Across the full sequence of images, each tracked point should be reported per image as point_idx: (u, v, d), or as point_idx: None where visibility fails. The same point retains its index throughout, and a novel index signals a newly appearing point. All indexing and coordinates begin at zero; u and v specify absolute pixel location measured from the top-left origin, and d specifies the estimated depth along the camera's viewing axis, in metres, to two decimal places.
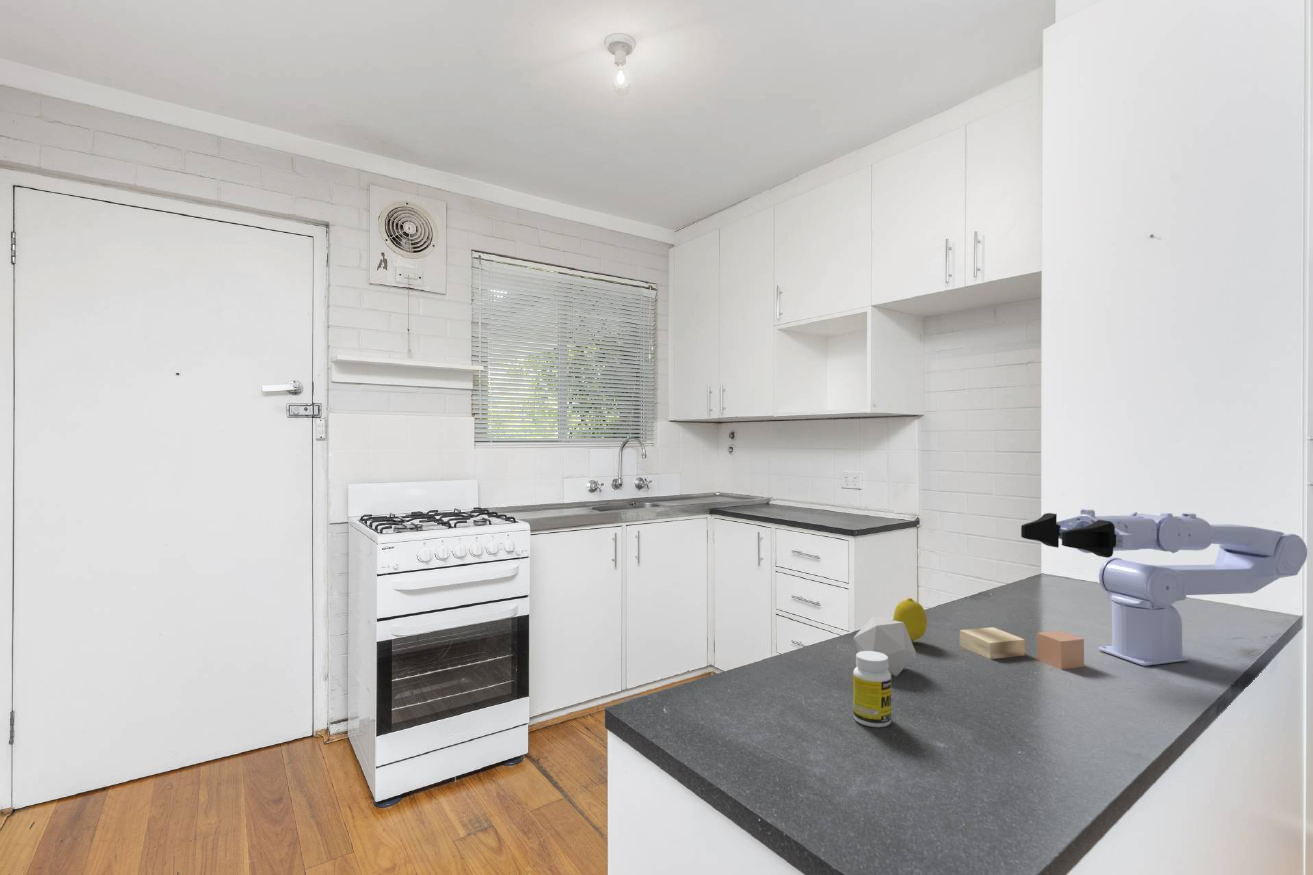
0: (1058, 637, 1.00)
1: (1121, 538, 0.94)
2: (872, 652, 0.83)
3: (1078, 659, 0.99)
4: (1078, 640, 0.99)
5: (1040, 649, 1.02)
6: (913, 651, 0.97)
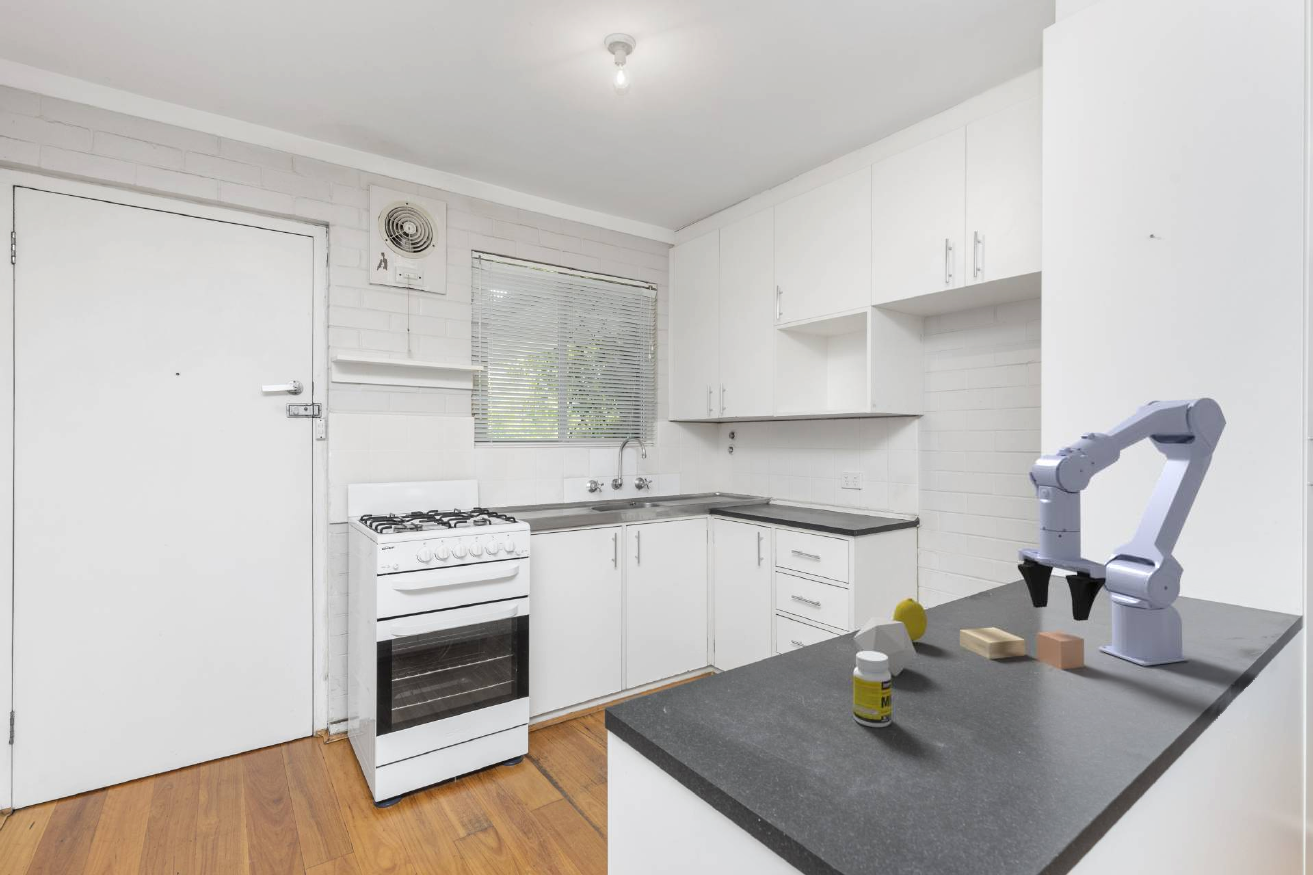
0: (1058, 637, 1.00)
1: (1097, 577, 0.94)
2: (872, 652, 0.83)
3: (1078, 659, 0.99)
4: (1078, 640, 0.99)
5: (1040, 649, 1.02)
6: (913, 651, 0.97)
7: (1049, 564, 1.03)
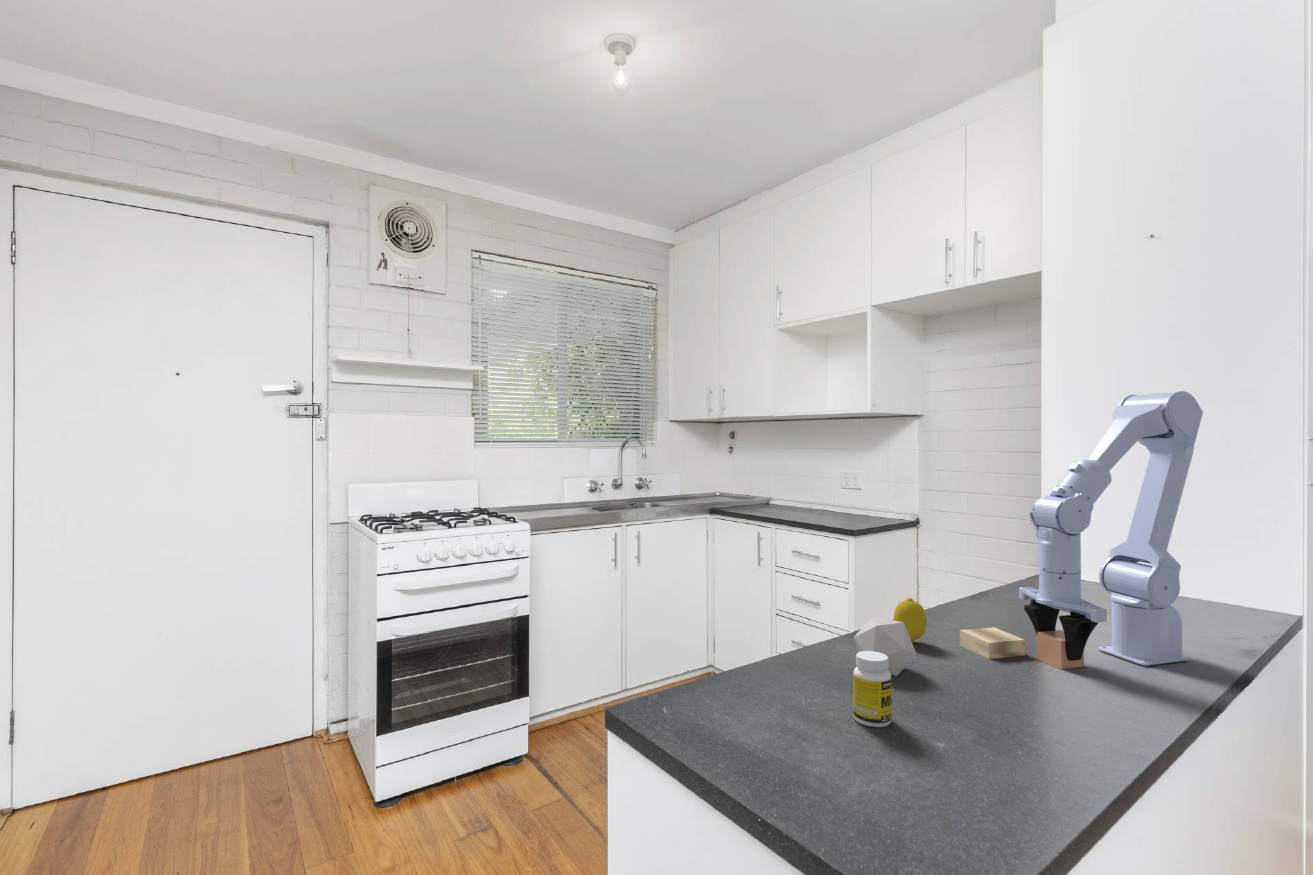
0: (1058, 636, 1.00)
1: (1098, 621, 0.94)
2: (872, 652, 0.83)
3: None
4: None
5: (1040, 648, 1.02)
6: (913, 651, 0.97)
7: (1049, 604, 1.03)
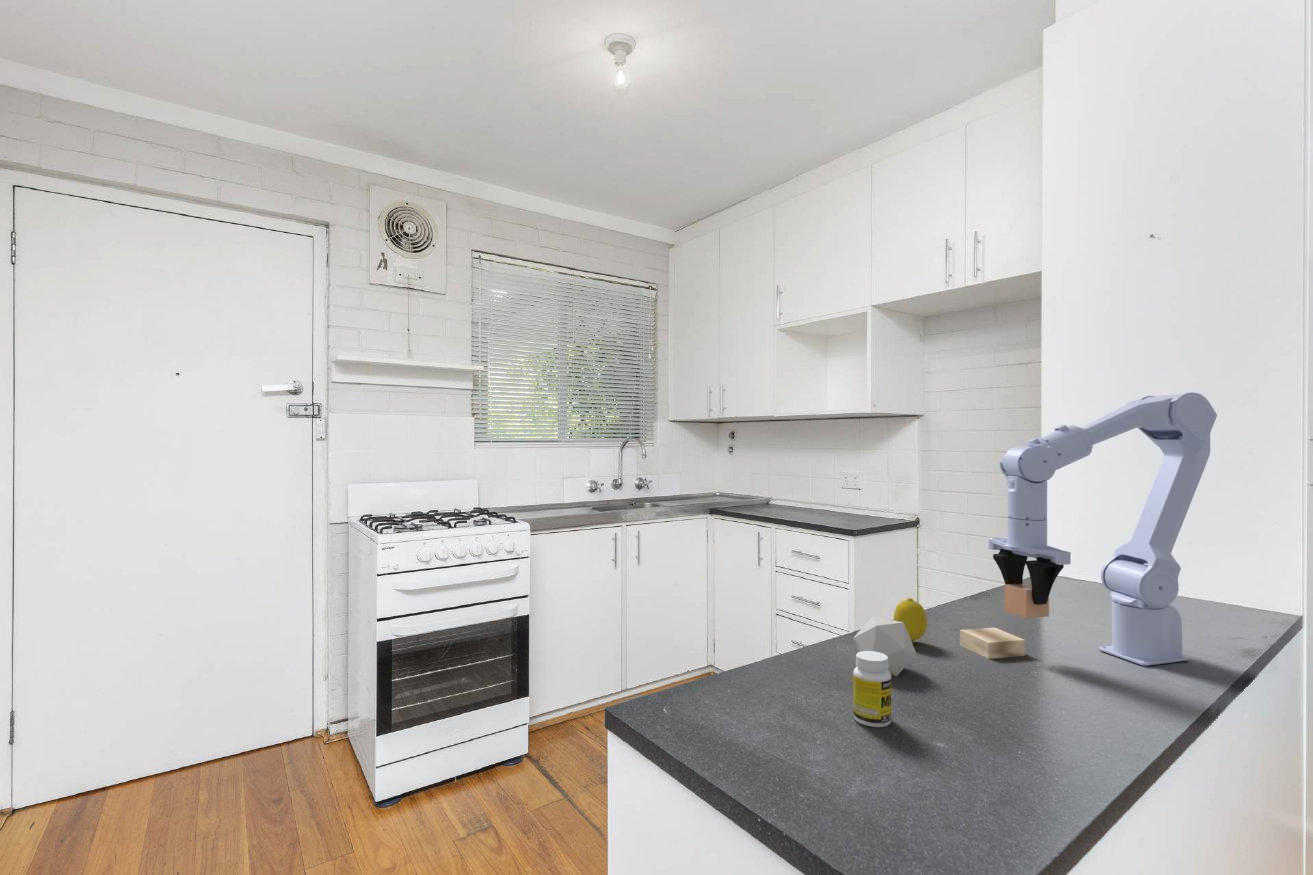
0: (1023, 587, 1.03)
1: (1062, 564, 0.97)
2: (872, 652, 0.83)
3: (1043, 608, 1.02)
4: None
5: (1007, 600, 1.05)
6: (913, 651, 0.97)
7: (1017, 552, 1.05)
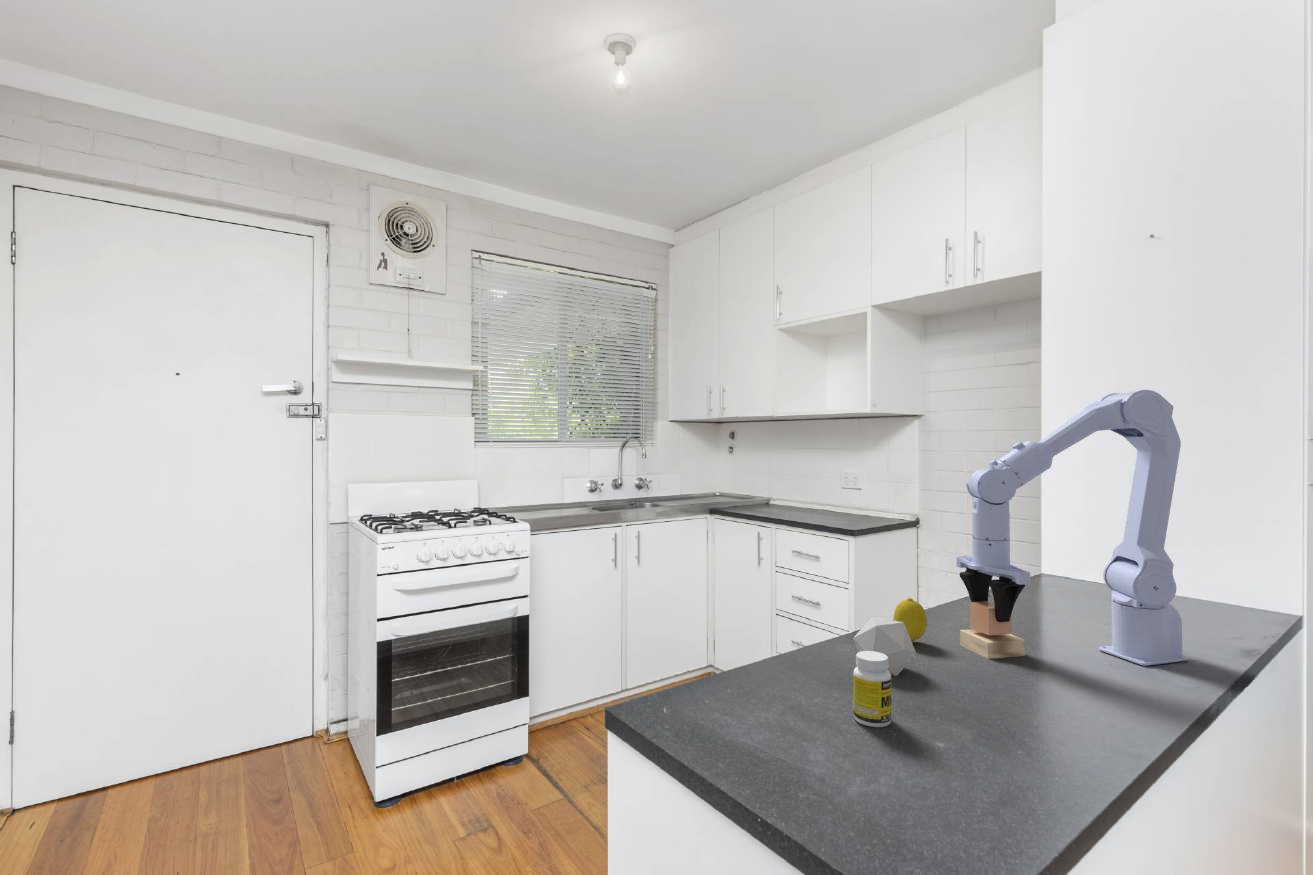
0: (987, 605, 1.07)
1: None
2: (872, 652, 0.83)
3: (1006, 625, 1.05)
4: None
5: (972, 617, 1.09)
6: (913, 651, 0.97)
7: (982, 571, 1.09)
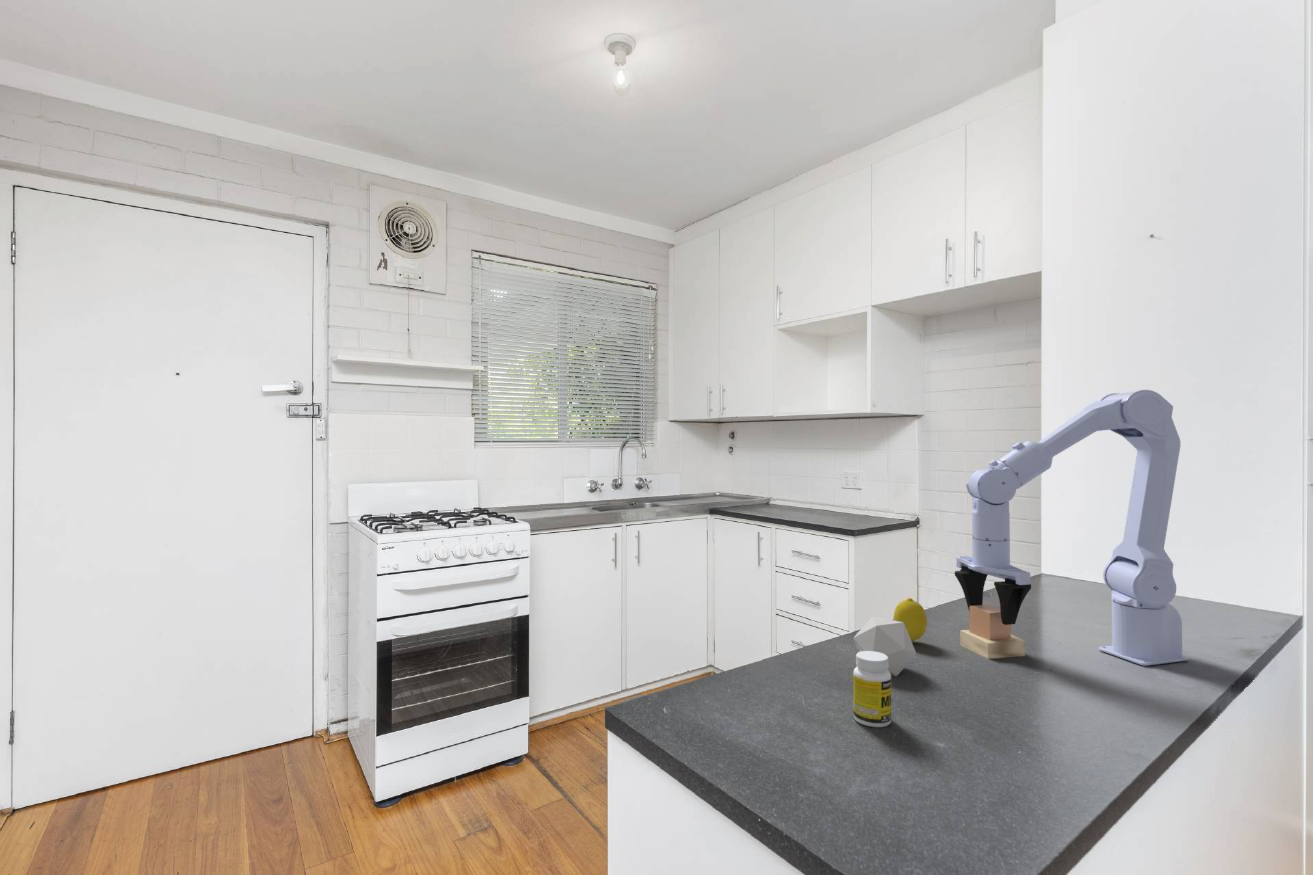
0: (988, 609, 1.07)
1: (1022, 584, 1.00)
2: (872, 652, 0.83)
3: (1006, 629, 1.06)
4: None
5: (971, 621, 1.09)
6: (913, 651, 0.97)
7: (982, 571, 1.09)
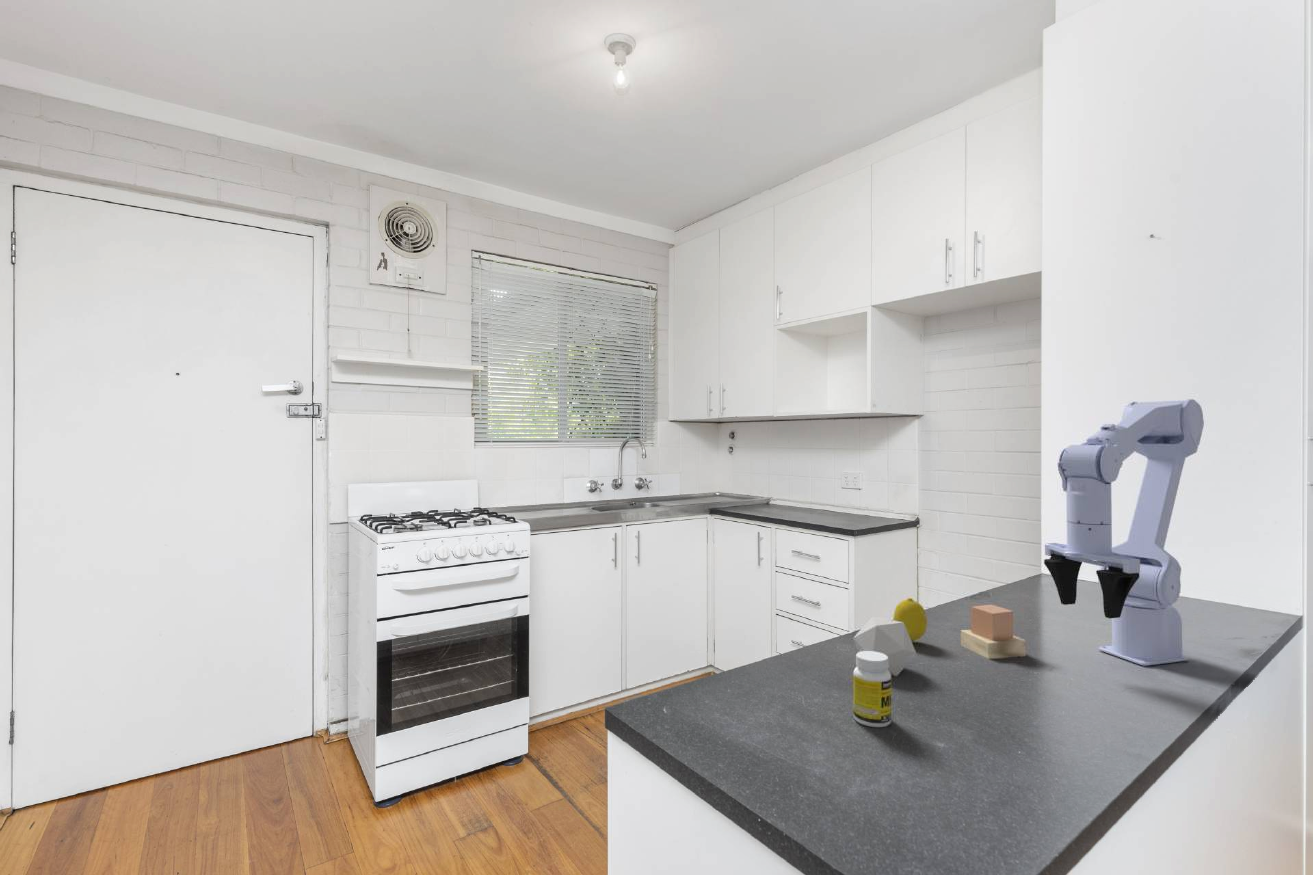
0: (990, 610, 1.07)
1: (1131, 573, 0.89)
2: (872, 652, 0.83)
3: (1008, 629, 1.06)
4: (1008, 612, 1.06)
5: (973, 621, 1.08)
6: (913, 651, 0.97)
7: (1078, 559, 0.98)
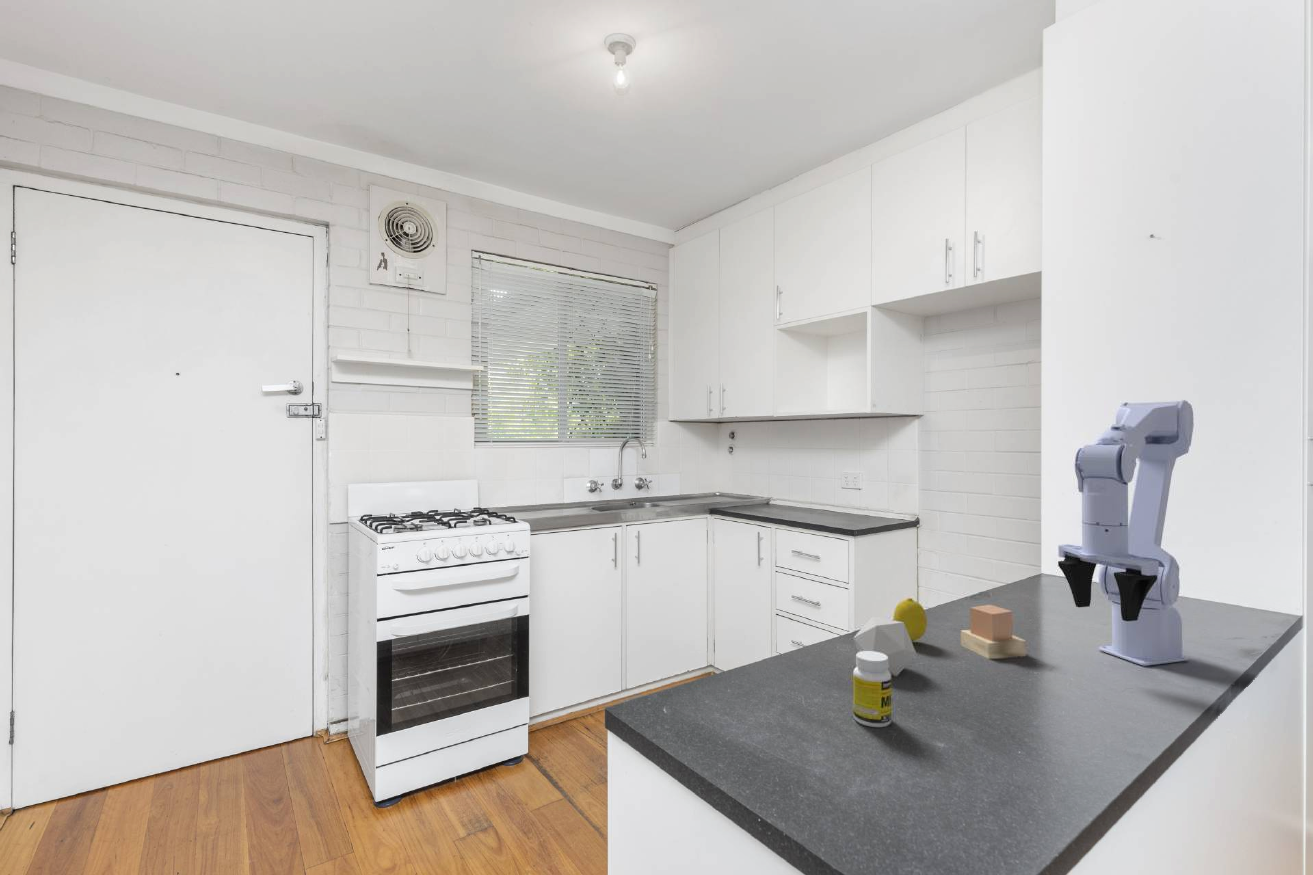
0: (989, 610, 1.06)
1: (1149, 575, 0.88)
2: (872, 652, 0.83)
3: (1007, 630, 1.06)
4: (1007, 612, 1.06)
5: (973, 622, 1.08)
6: (913, 651, 0.97)
7: (1093, 561, 0.96)
